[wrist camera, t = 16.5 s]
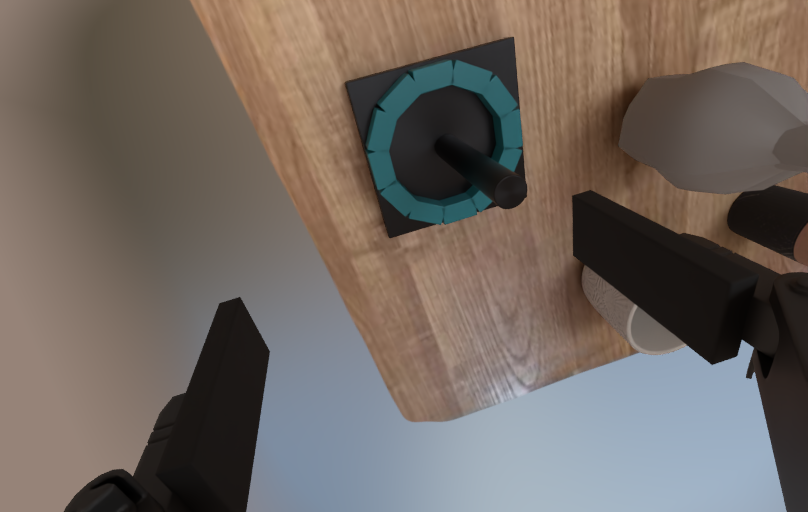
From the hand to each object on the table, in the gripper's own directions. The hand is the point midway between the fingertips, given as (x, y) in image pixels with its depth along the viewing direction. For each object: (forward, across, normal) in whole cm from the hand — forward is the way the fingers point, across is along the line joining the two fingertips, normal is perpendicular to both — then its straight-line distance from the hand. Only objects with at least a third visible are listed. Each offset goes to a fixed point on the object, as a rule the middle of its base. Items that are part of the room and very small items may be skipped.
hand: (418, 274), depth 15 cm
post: (+27, +8, -3) cm, 28 cm away
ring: (+25, +8, -3) cm, 27 cm away
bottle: (+27, +30, -6) cm, 41 cm away
